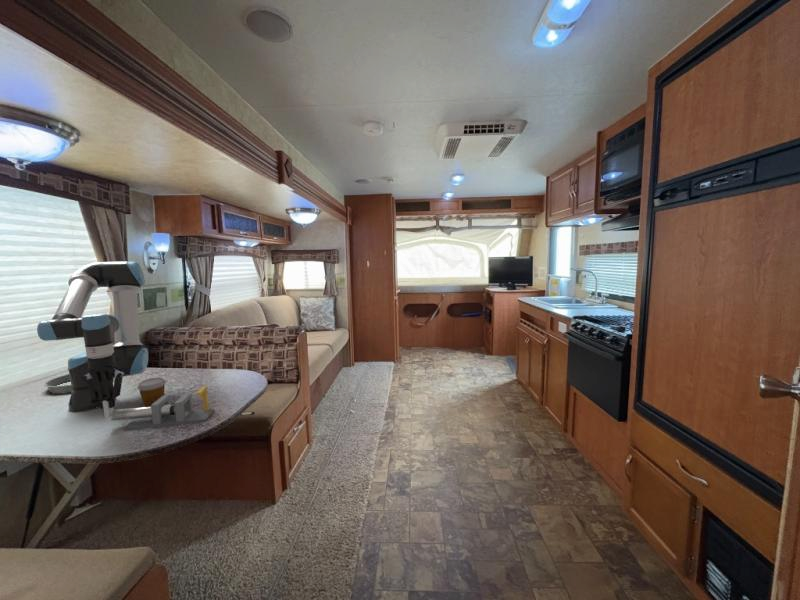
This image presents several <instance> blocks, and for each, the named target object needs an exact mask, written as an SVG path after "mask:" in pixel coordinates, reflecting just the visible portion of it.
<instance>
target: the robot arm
mask: <svg viewBox="0 0 800 600" xmlns="http://www.w3.org/2000/svg"><path fill="white" fill-rule="evenodd" d="M145 280H146V279H145V275H144V272H143V268H142V267H141V265H140V263H138V262H137V261H103V262H102V261H98V262H97V261H96V262H92V263H88V264H87V265H86V264H85V265H84V266H82V267H80V268H79V269H78V270H76V271H75V272H74V273H73V274H71V276H70V278H69V279H68V288H67V290H66V292H65V294H64V296H63V297H62V300H61V301H60V303H59V305H58V308H57V309H56V311H55V313H54V315H53V317H52V319H47V320H41V321H40V322H39V323H38V325H37V330H36V332H37V336H38V337H39V339H40V340H41V341H62V340H71V339H79V338H82V339H83V341H84V348H85V352H82V353H79V354H75V355H73V356H71V357H70V358H68V360H67V370H68V374H69V376H70V382H71V387H72V392H71V394H70V397H69V401H68V410H69V411H70V412H84V411H91V410H94V409H98V408H101V409H103V413H104V419H106V418H107V419H108V418H111V413H112V412H113V411H114V410H115V409H114V408H115V406H116V401H115V400H116V399H117V397H119V396H121V389H122V384H123V378H124V377H127V376H135V375H140V374H143V373H144V372H145V371H146V369H147V367H148V363H149V350H148V348H147V347H144V344H143V343H142V342H141V341H140V339H139V338H140V337H139V336H140V335H139V316H138V315H139V313H138V311H139V309H138V292H140V291H141V289H142V288H141V287H142V286H145V284H146V281H145ZM98 288H108V290H109V291H110V292H111V293H112V296H113V299H112V300H113V314H108V313H94V314H93V313H92V314H86V315H83V314H84V313H85V310H86V307H87V305H88V303H89V302H90V299H91V297H92V294H93V292H95V291H96V290H98ZM112 334H114V343H113V335H112Z"/></svg>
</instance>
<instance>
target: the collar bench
mask: <svg viewBox="0 0 800 600" xmlns="http://www.w3.org/2000/svg"><path fill="white" fill-rule="evenodd" d="M208 392H209V391H208V385H204V386H202V387H200V389H198V390H197V391H196V393H195V396H199V399H200V400H202V408H203V409H196V410H194V408H193V399H192V393H184V394H182V396H181V397H179V398H178V399H177V400H176V401H175V402H174V404H175V411H176V415H166V416H162V413H161V406H162V405H170V404H171V401H170V395H169V394H167V395H164V396H162V397H160V398H159V399H158V400H157V401H155V402H154V403H153V404H152V405H151V411H152V417H146V418H137V419H131V421H130V422H129V423H127V424H126V425H124V427H123V428H122V429H123V431H130V430H139V429H140V430H141V429H147V428H148V429H149V428H150V429H151V428H156V427H157V428H158V427H165V426H166V427H167V426H176V425H177V426H178V425H187V424H194V423H203V422H207V421H208V419H209V418H210V417H211V415H212V414H214V411H215V408H210V402H209V393H208Z"/></svg>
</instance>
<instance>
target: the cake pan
mask: <svg viewBox="0 0 800 600" xmlns="http://www.w3.org/2000/svg"><path fill="white" fill-rule="evenodd" d="M67 382H70V376H69V373H67V374H64V375H60V376H57V377H55V378H54V377H53V378H51V379H49V380H47V381H46V382H44V387H46V388H47V389H48V390H49V392H50V393H51V392H54V393H53V394H55V393H62V394H68V393H67V392H71V393H72V387H71V385H64V386H57V385H60V384H63V383H67Z"/></svg>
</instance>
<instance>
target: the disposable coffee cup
mask: <svg viewBox="0 0 800 600" xmlns="http://www.w3.org/2000/svg"><path fill="white" fill-rule="evenodd" d="M165 385H166V380H165V379H164V378H163V377H154V378H153V377H152V378H148V379H145V380H142V381H140V382H138V385H137V389H138V391H139V393H140V397H141V401H142V403H143V407H149V406H151V405H152V404H153V403H154V402H155V401H157V400H158V399H159V398H160V397H162V396H165Z"/></svg>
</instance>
